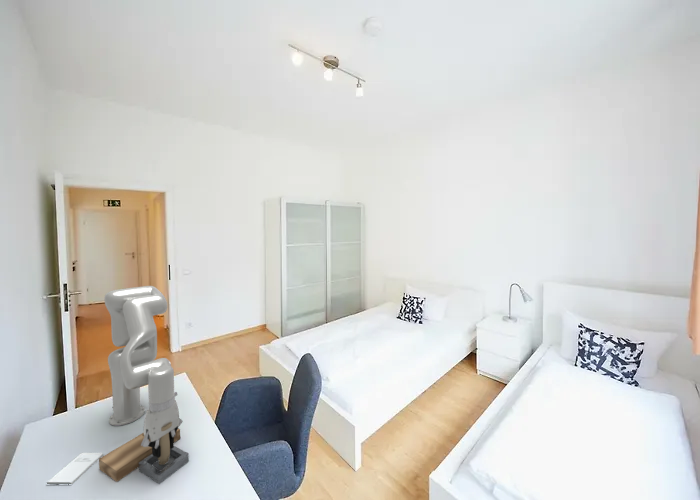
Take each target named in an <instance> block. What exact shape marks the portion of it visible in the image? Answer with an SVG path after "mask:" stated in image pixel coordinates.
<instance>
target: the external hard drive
mask: <svg viewBox="0 0 700 500" xmlns="http://www.w3.org/2000/svg"><path fill="white" fill-rule="evenodd" d="M103 456H104V453H103V452H81V453H80V454H78V455H77V456H76V457H75V458H73V459H72V460H71V461H70V462H69V463H68V464H67V465H65V466H64V467H63V468H61V469H60V470H59V471H58V472H57V473H56V474H55V475H54V476H52V477H51V478H50V479H48V480H47V481H46V482H45V483H47V484H68V485H67V486H70V485H69V484H72V485H74V484H75V482H77V481H78V480H79V479H80V478H81V477H82V476H83V475H84V474H85V473H86V472H87V471H88V470H89V469H91V468H92V467H93V465H95V464H96V463H97V462H99V458H101V457H103Z"/></svg>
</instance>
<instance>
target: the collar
mask: <svg viewBox="0 0 700 500" xmlns="http://www.w3.org/2000/svg"><path fill="white" fill-rule="evenodd" d="M189 456H190V455H189V452H186V451H185V450H183V449H181V448H180V447H178V446H175V445H174V448H172V449H171V448H170V455H169V457H172V458H173V459H174V460H173V461H172V462H170V463H169V464H168V465H166V466H165V467H163V468H162V469H159V468H157V467H155V466H154V464H156V463H158V462H159V460H158V458H157V457H156V456H153V454H151V455H150V456H148V457H147V458H145V459H144V460H142V461H141V462H139V463H138V464H139V467H138V472H140V473H141V474H143V475H144V476H146V477H147V478H149V479H150V480H152V481H154V482H155V483H156V484H158V485H160V484H161V483H163V482H164V481H165V480H166V479H168V478H169V477H171V476H172V474H174V473H175V472H176V471H178V470H179V469H181V468H182V467H183V466H184V465H186V464H187V463H188V462H189V461H190V460H189V458H190V457H189Z"/></svg>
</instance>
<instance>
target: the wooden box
mask: <svg viewBox="0 0 700 500" xmlns="http://www.w3.org/2000/svg"><path fill="white" fill-rule="evenodd" d="M143 439H144V431H143V432H142V433H140V434H139V435H137V436H135V437H133V438H132V439H130V440H128V441H127V442H125V443H123V444H122V445H120V446H118V447H117V448H115V449H113V450H112V451H109V452H108V453H106V454H104V455H103V456H102V457H101V458H99V460H98V467H99V469H98V470H100V472H102V473H104V474H105V475H106V476H108V477H109V478H111V479H112V480H114V481H115V482H116V483H118V482H119V481H121V480H122V479H123V478H125V477H127V476H128V475H130V474H131V473H132V472H134V471H136V469H139V464H138V463H139V462H141V461H142V460H144V459H145V458H147V457H148V456H150V455H151V454H152V447H143V446H141V443H142V441H143ZM180 439H181V429H180V428H179V427H178V429H177V431H176V433H175V436H174V444H175V443H176V442H178V441H179V440H180ZM149 441H151V440H150V439H149Z"/></svg>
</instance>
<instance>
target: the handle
mask: <svg viewBox="0 0 700 500" xmlns="http://www.w3.org/2000/svg"><path fill="white" fill-rule="evenodd" d="M171 426H172V422H170V423H169V424H167V425H166V426H164V427H162V428H161V431H165V430H167V429H169V428H170V427H171ZM159 446H160V449H161V456H160V457H159V458H158V460H159V461H158V464H159V465H160V466H164V465H166V464H168V463H169V462H170V440H169V432H168V433H167V434H165V435H164V436H162V437H161V438H160V440H159Z"/></svg>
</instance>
